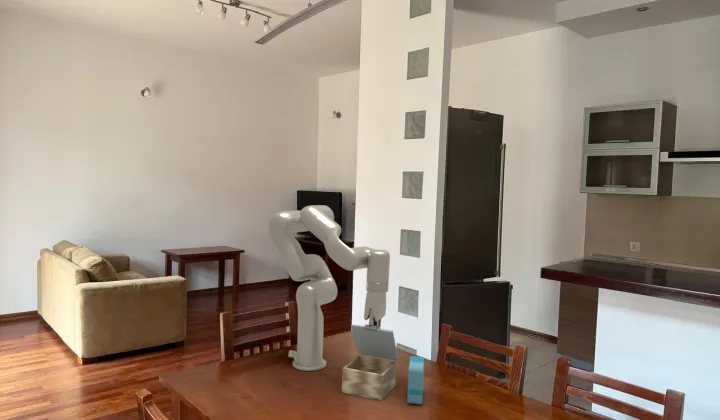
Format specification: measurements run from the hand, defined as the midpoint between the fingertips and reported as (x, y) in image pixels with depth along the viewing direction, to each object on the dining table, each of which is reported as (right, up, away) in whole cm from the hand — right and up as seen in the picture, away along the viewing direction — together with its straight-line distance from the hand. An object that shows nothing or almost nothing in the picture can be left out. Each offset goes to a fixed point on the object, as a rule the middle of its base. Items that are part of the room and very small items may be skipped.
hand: (374, 339), depth 174 cm
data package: (+13, -17, -9) cm, 23 cm away
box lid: (-1, -1, -2) cm, 2 cm away
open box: (-2, -16, -3) cm, 16 cm away
